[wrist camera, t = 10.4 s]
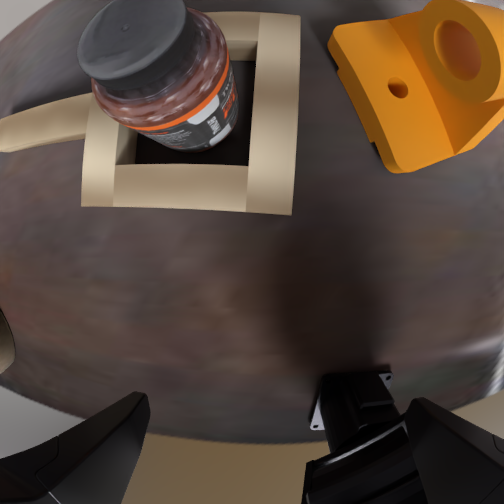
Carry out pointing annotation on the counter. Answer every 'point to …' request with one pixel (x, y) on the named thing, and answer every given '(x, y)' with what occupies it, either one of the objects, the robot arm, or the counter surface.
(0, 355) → the pillar candle
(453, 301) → the counter surface
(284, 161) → the wooden frame with handle
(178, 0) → the supplement bottle
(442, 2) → the bracket
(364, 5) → the counter surface
